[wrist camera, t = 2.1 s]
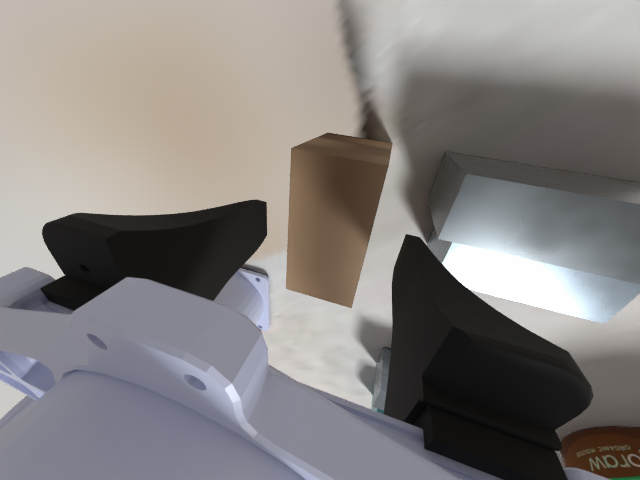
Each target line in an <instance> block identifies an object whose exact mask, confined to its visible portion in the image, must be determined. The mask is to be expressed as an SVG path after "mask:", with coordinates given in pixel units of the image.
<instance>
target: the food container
mask: <svg viewBox="0 0 640 480" xmlns="http://www.w3.org/2000/svg"><path fill="white" fill-rule="evenodd" d="M561 444H562V449H561V450H560V451H561V454H562V457H563V459H564V462H565V465H566V467H570V468H578V469H582V470H585V471H588V472H591V473H594V474H596V475H599V476H602V477H604V478H607V479H610V480H640V428H638V427H621V426H607V427H594V428H588V429H583V430H579V431H576V432H574V433H571V434H569V435H568V436H566V437H565V438H564V439H563V440H562V441H561Z"/></svg>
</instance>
